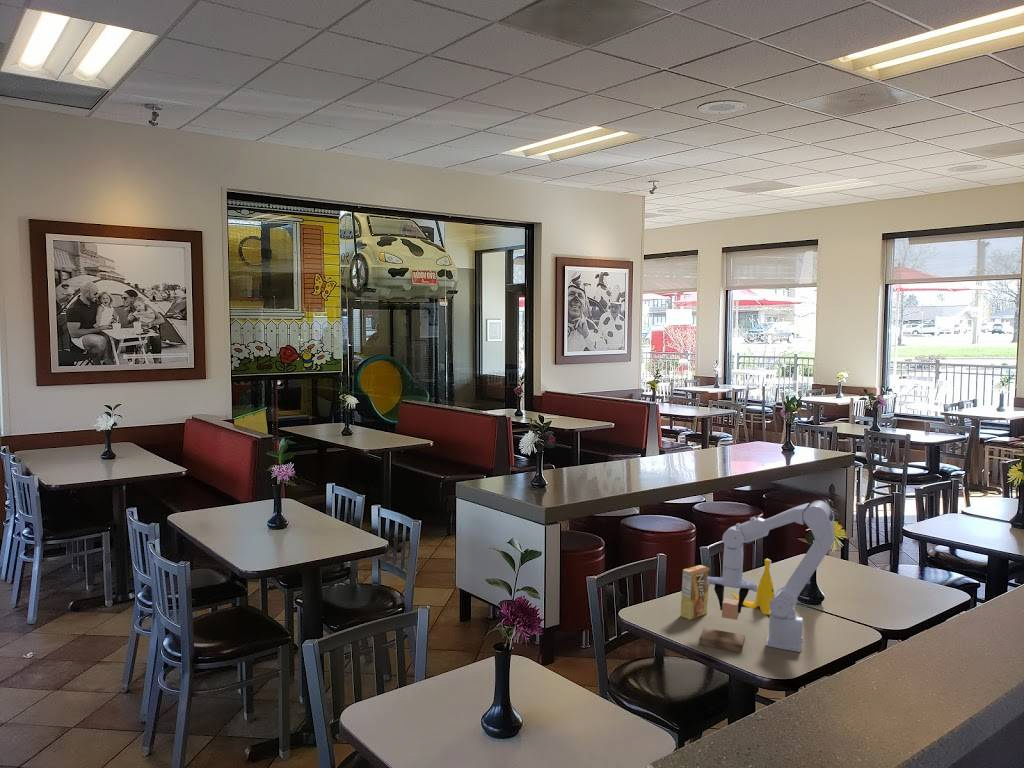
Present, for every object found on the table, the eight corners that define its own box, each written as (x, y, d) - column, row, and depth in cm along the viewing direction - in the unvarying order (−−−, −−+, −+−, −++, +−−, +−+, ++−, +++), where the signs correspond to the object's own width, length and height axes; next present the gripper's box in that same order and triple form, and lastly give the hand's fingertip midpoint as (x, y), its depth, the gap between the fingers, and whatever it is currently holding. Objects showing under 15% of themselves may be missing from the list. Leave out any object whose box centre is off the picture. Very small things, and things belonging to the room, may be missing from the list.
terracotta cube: (738, 614, 234) (739, 600, 233) (737, 619, 230) (737, 605, 229) (723, 612, 235) (724, 597, 235) (721, 617, 231) (722, 602, 231)
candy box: (696, 610, 250) (699, 564, 249) (707, 614, 247) (710, 567, 246) (679, 616, 245) (681, 569, 243) (690, 620, 241) (692, 572, 240)
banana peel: (786, 602, 260) (789, 554, 258) (779, 622, 243) (783, 570, 241) (736, 594, 267) (739, 546, 265) (726, 612, 250) (729, 561, 248)
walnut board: (744, 641, 226) (745, 634, 226) (741, 652, 219) (742, 645, 219) (703, 634, 231) (703, 627, 231) (699, 644, 224) (699, 637, 223)
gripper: (759, 566, 232) (756, 610, 233) (710, 559, 238) (707, 602, 239) (757, 573, 226) (754, 618, 227) (706, 566, 231) (704, 610, 232)
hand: (730, 610), depth 232 cm, fingers closed on terracotta cube, 4 cm apart
